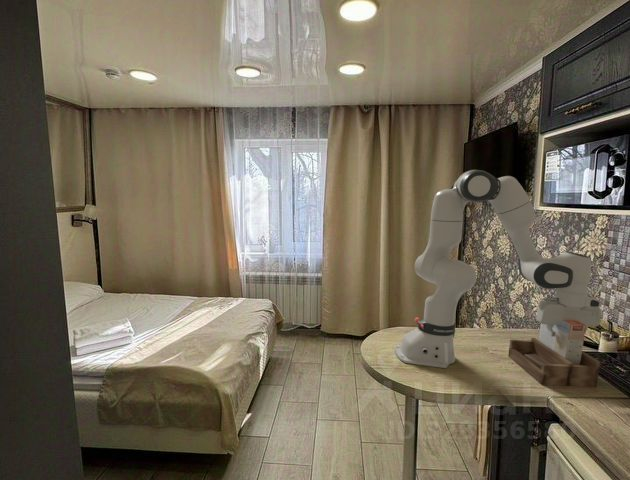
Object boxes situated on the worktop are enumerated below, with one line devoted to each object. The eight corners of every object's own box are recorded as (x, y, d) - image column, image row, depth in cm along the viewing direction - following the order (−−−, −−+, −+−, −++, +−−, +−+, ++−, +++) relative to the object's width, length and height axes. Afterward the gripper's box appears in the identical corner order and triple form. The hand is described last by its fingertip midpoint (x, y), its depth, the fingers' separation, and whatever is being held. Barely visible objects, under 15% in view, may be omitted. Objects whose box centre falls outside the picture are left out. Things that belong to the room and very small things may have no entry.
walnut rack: (541, 388, 113) (545, 359, 112) (507, 359, 133) (510, 334, 131) (595, 390, 113) (600, 361, 112) (554, 361, 133) (557, 336, 131)
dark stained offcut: (541, 370, 118) (541, 365, 118) (523, 359, 126) (524, 354, 126) (552, 370, 119) (552, 364, 119) (534, 359, 127) (534, 353, 126)
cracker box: (578, 382, 117) (587, 324, 115) (561, 382, 117) (569, 323, 115) (550, 362, 131) (557, 310, 128) (534, 362, 131) (541, 309, 128)
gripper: (546, 300, 116) (541, 339, 118) (607, 302, 116) (600, 341, 118) (534, 294, 122) (529, 331, 124) (592, 297, 122) (586, 334, 124)
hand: (564, 336), depth 121 cm, fingers open, 8 cm apart
